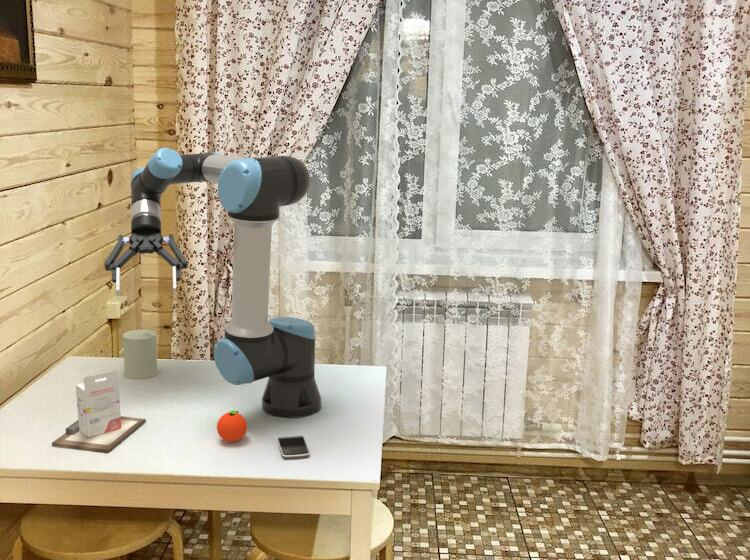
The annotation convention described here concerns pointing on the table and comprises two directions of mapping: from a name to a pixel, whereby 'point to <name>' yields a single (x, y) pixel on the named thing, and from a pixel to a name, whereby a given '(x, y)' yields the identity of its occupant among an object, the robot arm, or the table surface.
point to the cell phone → (293, 447)
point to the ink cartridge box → (98, 404)
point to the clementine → (231, 426)
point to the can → (140, 354)
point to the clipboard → (98, 436)
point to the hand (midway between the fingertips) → (146, 292)
